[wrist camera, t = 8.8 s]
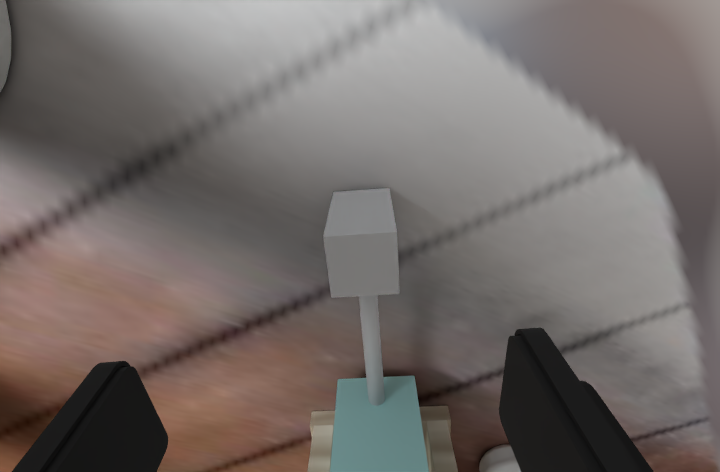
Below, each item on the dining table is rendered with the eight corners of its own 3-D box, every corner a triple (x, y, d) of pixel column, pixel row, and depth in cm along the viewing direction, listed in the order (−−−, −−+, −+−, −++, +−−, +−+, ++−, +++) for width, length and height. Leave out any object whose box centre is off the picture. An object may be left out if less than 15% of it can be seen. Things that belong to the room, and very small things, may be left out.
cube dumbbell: (314, 193, 20) (286, 271, 13) (408, 186, 20) (432, 262, 13) (345, 417, 28) (338, 546, 21) (413, 413, 28) (430, 543, 20)
